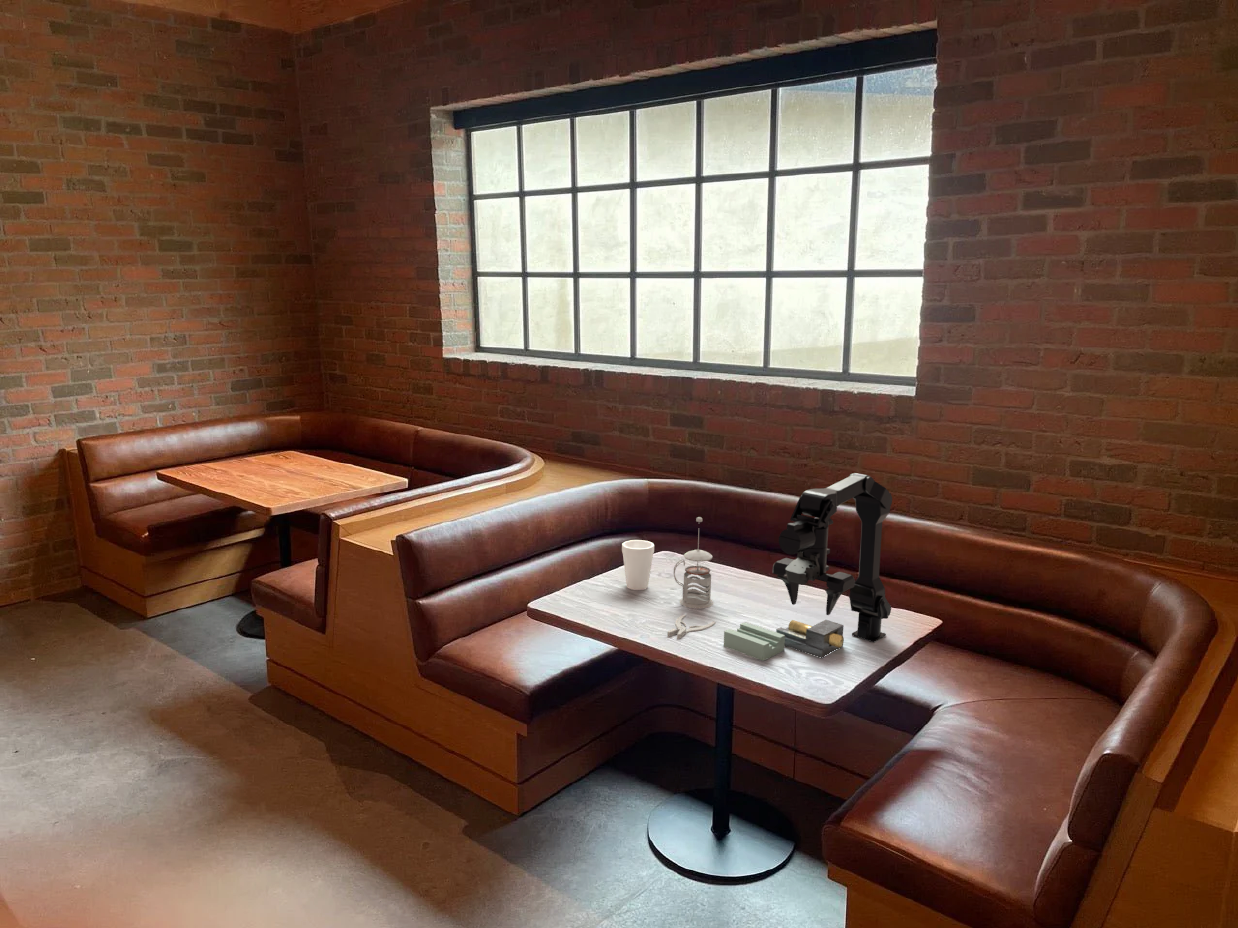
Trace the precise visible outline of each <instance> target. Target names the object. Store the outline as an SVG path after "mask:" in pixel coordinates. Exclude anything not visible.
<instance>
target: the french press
mask: <svg viewBox="0 0 1238 928" xmlns="http://www.w3.org/2000/svg"><path fill="white" fill-rule="evenodd" d="M695 519H696V520H695V521H696V523H697V522H698V523H702V522H703V518H702V517H701V516H698V517H696V518H695ZM697 536H698V537H697V538H698V539H697V549H694V550H693V549H692V550H689V551H687V552H686V553H683V558H684V559H681V560H679V561H677V562H676V563H675V565H674V568H673V577H674V578H673V579H674V581H675V583H676V584H677V585H679V586H680V587H682V597H681V598H680V599H679V604H680V605H681V606H683V607H685V608H690V609H697V610H699V609H706V608H711V607H713V606H714V603H715V602H714V601H713V599H712V598H711V593H712V592H711V591H712V590H711V588H712V574H711V573H710V572H711V569H710V568H709V567H706V566H703V565H699V562H708V561H711V560H712V559H713V555H712V554H711V553H710V552H708V551H706V550H702V549H699V547H700V545H699V544H700V529H698V535H697ZM685 560H688V561H691V562H697V564H696V565H689V566H686V567H685V565H686V562H685ZM681 563H683V566H684V567H685V569H684V571H685V572H684V573H683V583H682V582H681V581H678V579H677V577H676V569H677V567H678V566H679V565H680V564H681ZM691 575H692V576H691ZM700 577H701V578H700ZM692 583H693V584H692ZM690 588H691V589H690Z"/></svg>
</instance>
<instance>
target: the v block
mask: <svg viewBox="0 0 1238 928" xmlns="http://www.w3.org/2000/svg"><path fill="white" fill-rule="evenodd" d="M739 625H740V626H739V628H737V629H736V630H735V629H731V628H728V629H726V630H724V631H723V647H725V648H727V649H730V650H732V651H735V652H738V653H741V654H744V655H746V656H749V657H752V658H754V659H757V660H760V661H763V662H764V661H766V660H768V659H770V658H773V657H774V656H776V655H778V654H780V653H782V652H785V646H784V645H785V635H783V634H780V633H777V632H776V631H773V630H770V629H768V628H765V627H762V626H759V625H756V624H753V623H749V622H747V621H744V622H742V623H740V624H739Z"/></svg>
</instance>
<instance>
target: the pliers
mask: <svg viewBox="0 0 1238 928" xmlns="http://www.w3.org/2000/svg"><path fill="white" fill-rule="evenodd" d="M686 616H687V614H682V615H680V616H679V617H677V618H676V620H675V628H672V629H670V630H668V631H667V637H672V636H675V635H676V638H677V639H678V640H680V639H681V638H682V637H683V636H685V634H688V633H692V632H699V631H704V630H707V629H710V628H712V627H713V626H714V625H715V624H716V621H715V620H714V621H712V622H709V623H707V624H705V625H691V626H689V628H687V625H686V624H687V623H686V622H684V621H683V620H684V618H685V617H686Z"/></svg>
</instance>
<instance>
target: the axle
mask: <svg viewBox="0 0 1238 928" xmlns="http://www.w3.org/2000/svg"><path fill="white" fill-rule="evenodd" d="M812 626H813V625H810V624H807V623H805V622H800V621H799V620H793V619H791V620H790V621H789V623H788V627H787V628H788V629H789V630H791V631H794V632H797V633H800V634H803V635H806V629H808V628H810V627H812ZM844 639H845V637H844V635H843V636H842V635H838V634H835V633H832V634H830V639H829V645H832V646H835V647H838V648H840V647H841V646H842V645H843V646H844ZM840 649H841V648H840Z"/></svg>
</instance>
